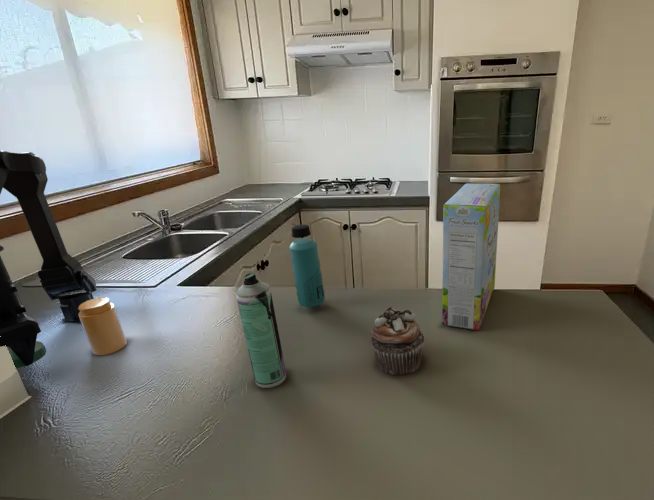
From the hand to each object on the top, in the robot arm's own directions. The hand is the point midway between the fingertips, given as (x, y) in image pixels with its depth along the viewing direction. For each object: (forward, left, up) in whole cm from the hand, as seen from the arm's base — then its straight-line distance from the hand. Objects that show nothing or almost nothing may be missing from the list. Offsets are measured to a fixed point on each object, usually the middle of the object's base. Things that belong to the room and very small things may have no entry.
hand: (25, 358), depth 80 cm
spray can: (-4, +48, -4) cm, 48 cm away
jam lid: (0, 0, +1) cm, 1 cm away
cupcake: (-11, +70, -4) cm, 71 cm away
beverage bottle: (-32, +46, -4) cm, 56 cm away
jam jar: (-11, +8, -4) cm, 14 cm away
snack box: (-34, +83, -4) cm, 90 cm away
